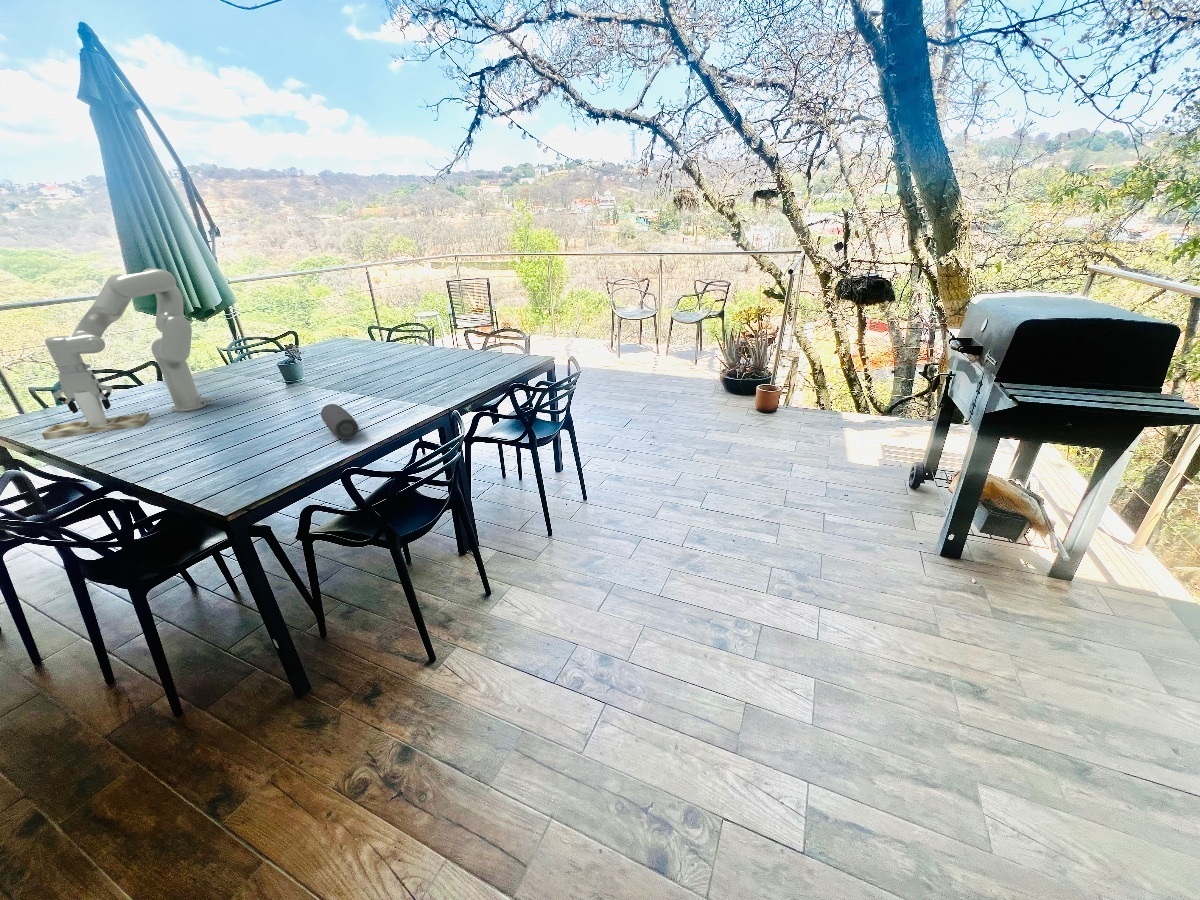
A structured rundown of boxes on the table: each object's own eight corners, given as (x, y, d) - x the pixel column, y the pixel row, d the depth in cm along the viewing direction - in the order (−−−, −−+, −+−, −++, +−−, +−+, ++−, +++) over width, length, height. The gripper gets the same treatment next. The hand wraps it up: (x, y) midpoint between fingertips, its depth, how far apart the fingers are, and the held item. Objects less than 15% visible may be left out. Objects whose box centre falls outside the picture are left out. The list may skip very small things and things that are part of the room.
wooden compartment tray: (150, 418, 207) (148, 412, 206) (143, 425, 198) (141, 420, 197) (56, 430, 194) (53, 424, 193) (44, 439, 185) (41, 433, 184)
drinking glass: (96, 429, 192) (80, 393, 186) (83, 427, 193) (66, 392, 187) (115, 423, 198) (100, 388, 192) (102, 421, 199) (87, 387, 193)
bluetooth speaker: (322, 428, 195) (316, 405, 191) (346, 423, 200) (341, 400, 196) (336, 445, 179) (330, 420, 175) (362, 439, 185) (357, 414, 180)
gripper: (105, 364, 192) (123, 404, 199) (46, 369, 185) (66, 411, 192) (98, 368, 186) (117, 409, 193) (37, 374, 179) (58, 416, 186)
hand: (92, 410), depth 193 cm, fingers open, 9 cm apart
